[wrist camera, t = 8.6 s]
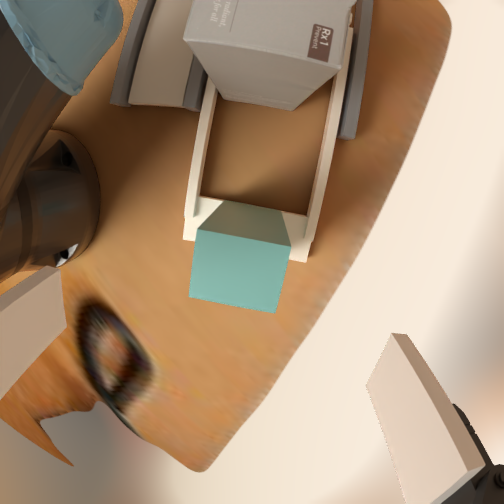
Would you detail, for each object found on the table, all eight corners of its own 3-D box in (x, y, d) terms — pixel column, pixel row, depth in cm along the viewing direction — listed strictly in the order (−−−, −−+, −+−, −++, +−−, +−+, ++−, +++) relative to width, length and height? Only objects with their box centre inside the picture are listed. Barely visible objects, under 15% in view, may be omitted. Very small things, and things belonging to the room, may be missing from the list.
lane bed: (121, 106, 24) (109, 103, 21) (171, -49, 18) (165, -61, 15) (346, 140, 24) (354, 138, 22) (368, -26, 18) (375, -37, 15)
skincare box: (238, 24, 21) (211, -89, 6) (316, 37, 21) (364, -67, 6) (220, 105, 24) (159, 38, 8) (301, 119, 24) (351, 66, 9)
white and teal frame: (185, 236, 27) (138, 285, 17) (228, 11, 20) (208, -57, 10) (304, 259, 27) (326, 321, 17) (349, 34, 20) (391, -23, 10)
